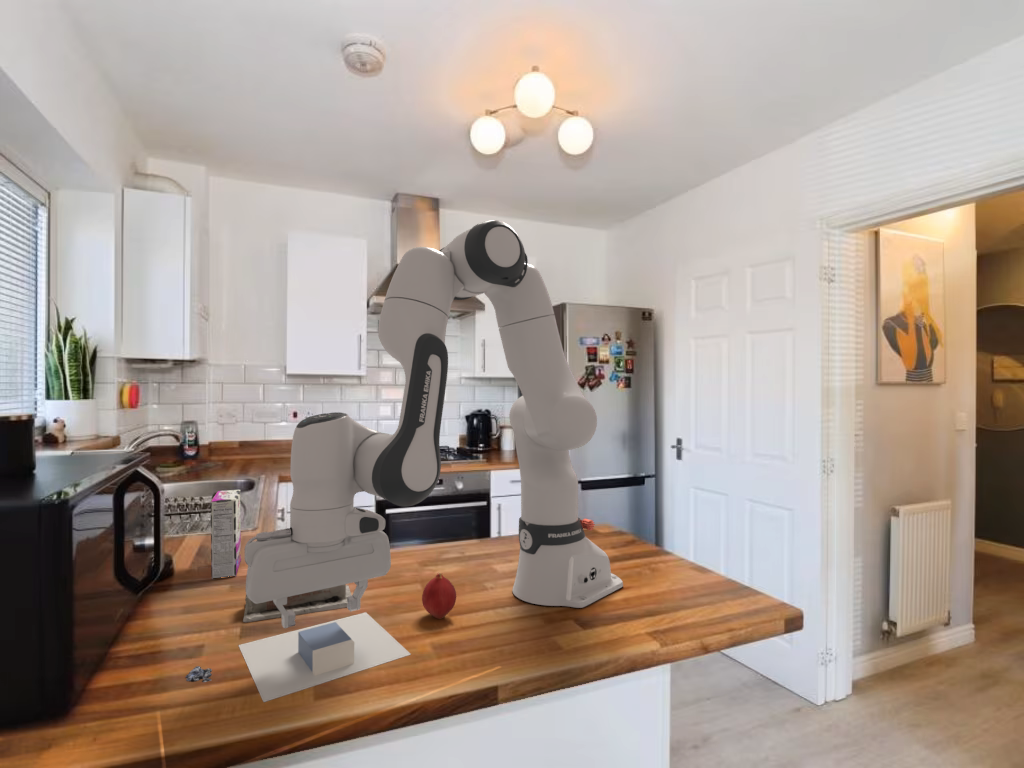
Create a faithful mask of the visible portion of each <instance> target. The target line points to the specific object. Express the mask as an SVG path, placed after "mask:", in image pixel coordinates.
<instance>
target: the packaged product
mask: <svg viewBox="0 0 1024 768" xmlns="http://www.w3.org/2000/svg"><path fill="white" fill-rule="evenodd" d="M352 595H353V594H352V592H351V589H350V586H349V584H344V585H339V586H335V587H330V588H326V589H321V590H317V591H312V592H308V593H303V594H299V595H294V596H290V597H287V604H286V605H283V607H284V608H285V610H286V611H290V610H293V612H294V613H295V616H298V615H303V614H304V615H306V614H312V613H317V612H324V611H332V610H338V609H345V608H347V604H348V602H347V597H349V596H352ZM244 600H245V607H244V608H245V609H244V613H243V614H244V615H243V620H242V622H243V623H251V622H258V621H264V620H271V619H272V620H273V619H279V618H282V614H281V612H280V611H279V609H278V608H277V607H276V605H275V604H274V602H273V600H272V601H267V602H263V603H258V604H256V603H254V602H252V601H251V600H250V599H249V598H248V597H247V594H246V593H245V599H244Z"/></svg>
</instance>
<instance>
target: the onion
mask: <svg viewBox="0 0 1024 768" xmlns="http://www.w3.org/2000/svg"><path fill="white" fill-rule="evenodd" d="M456 601H457V592H456V588H455V586H454V585H453V583H452V582H451V581H450V580H449V579H448V578H446V577H445V576H444V575H443V573H442V572H438V573H436V575H435V576H434V577H433V578H431V580H430V581H428V582H427V584H426V585H425V586H424V588H423V591H422V595H421V603H422V606H423V608H424V609H425V611H426V612H427V613H428V614H430V615H431V616H432V617H433V618H435V619H438V620H439V619H443V618H444V617H445V616H447V614H449V613H450V612H451V611H452V610H453V608H455V604H456Z"/></svg>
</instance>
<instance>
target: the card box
mask: <svg viewBox="0 0 1024 768" xmlns="http://www.w3.org/2000/svg"><path fill="white" fill-rule="evenodd" d="M298 653H299V654H300V655H301V657H302V658H303V660H304V661H305V663H306V664H307V665H308V667H309V668H310V670H311V671H312V673H313V674H314V675H315V676H316V675H319V674H322V673H325V672H328V671H331V670H334V669H338V668H341V667H344V666H347V665H350V664H353V663H354V641H353V640H352V639H351V638H350V637H349V636H348V635H347V634H346V633H345V632H344V631H343V629H342V628H341V627H340V626H339V625H338V624H337V623H336V622H334V623H330V624H326V625H322V626H319V627H315V628H311V629H307V630H304V631H300V632H298Z"/></svg>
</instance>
